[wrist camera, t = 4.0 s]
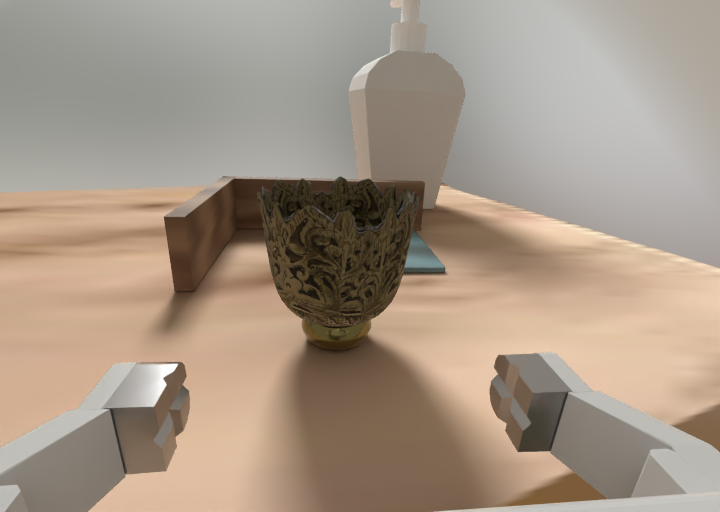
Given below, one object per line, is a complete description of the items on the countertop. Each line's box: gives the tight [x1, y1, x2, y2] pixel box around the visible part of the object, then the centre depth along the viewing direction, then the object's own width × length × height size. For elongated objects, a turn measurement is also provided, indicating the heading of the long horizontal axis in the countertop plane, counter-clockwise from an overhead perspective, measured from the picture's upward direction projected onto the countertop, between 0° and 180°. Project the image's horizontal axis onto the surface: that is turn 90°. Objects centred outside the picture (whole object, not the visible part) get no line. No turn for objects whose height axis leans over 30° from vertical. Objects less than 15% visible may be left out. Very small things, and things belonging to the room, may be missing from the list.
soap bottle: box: [348, 0, 465, 209], centre depth 48 cm, size 12×10×26 cm
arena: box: [164, 176, 445, 291], centre depth 32 cm, size 16×20×5 cm
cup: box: [257, 177, 419, 350], centre depth 19 cm, size 8×7×8 cm
